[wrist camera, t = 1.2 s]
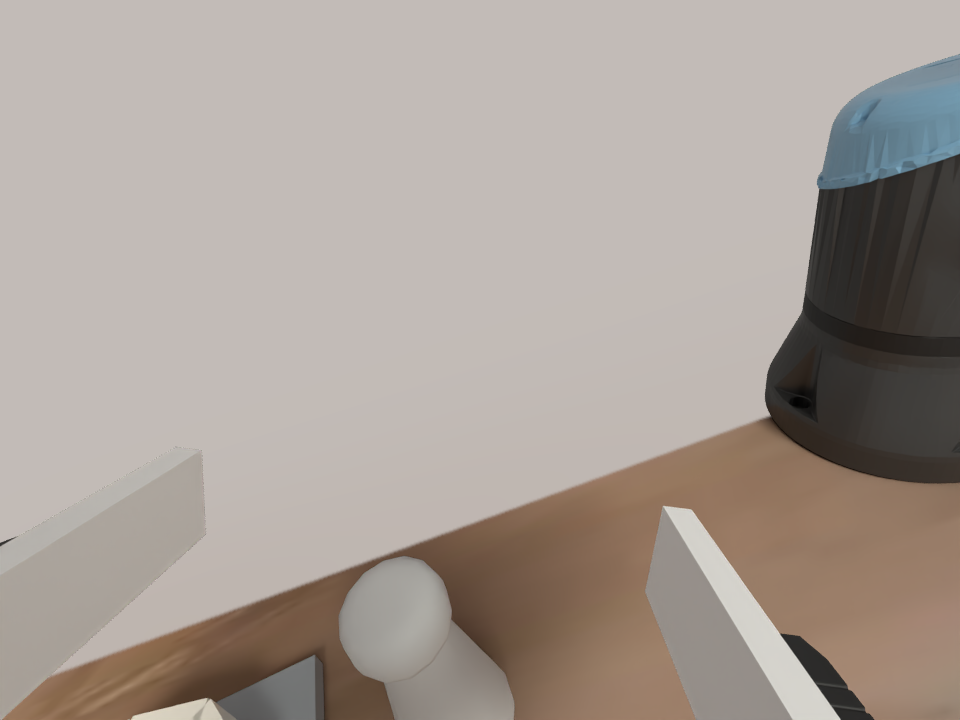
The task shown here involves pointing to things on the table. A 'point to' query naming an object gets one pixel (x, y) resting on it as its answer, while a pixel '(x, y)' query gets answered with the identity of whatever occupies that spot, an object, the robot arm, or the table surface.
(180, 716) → the ring holder
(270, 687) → the slate board
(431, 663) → the salt shaker
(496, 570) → the table surface
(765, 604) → the table surface
